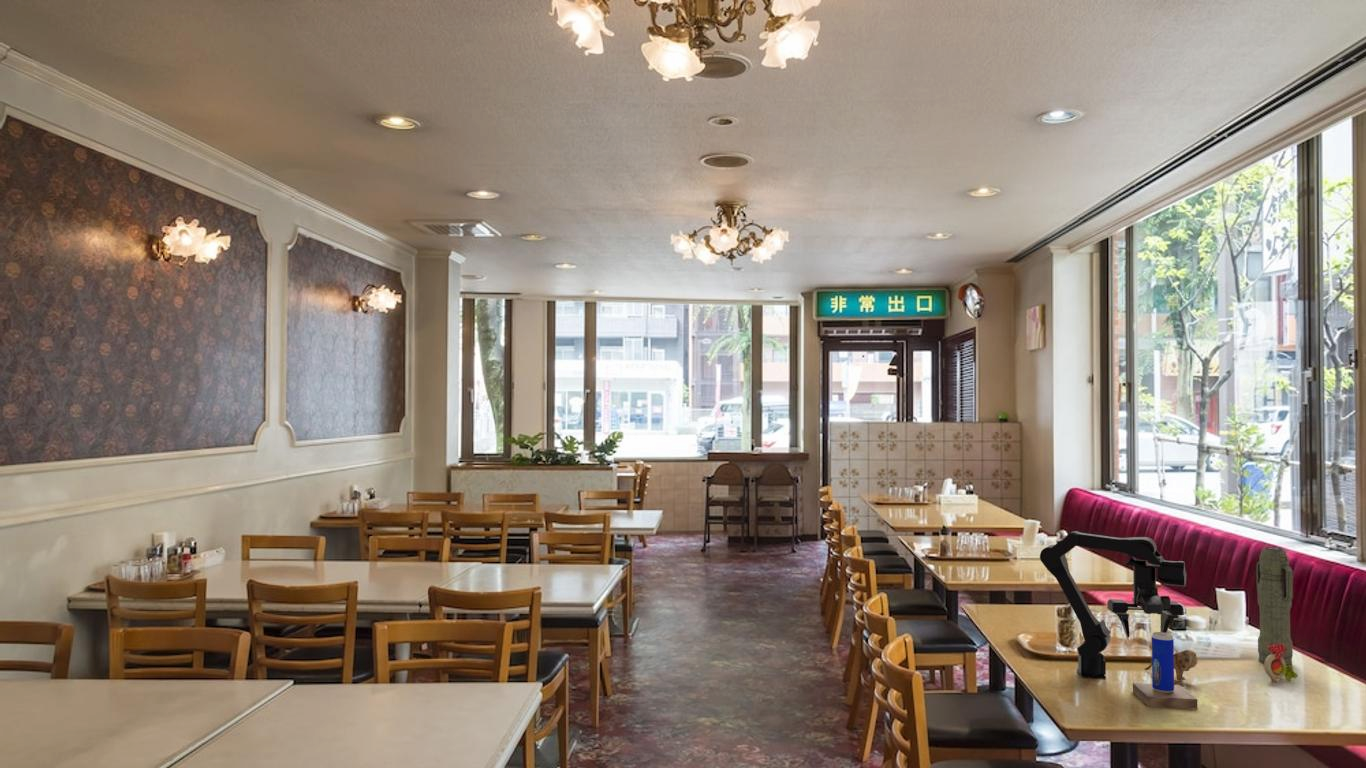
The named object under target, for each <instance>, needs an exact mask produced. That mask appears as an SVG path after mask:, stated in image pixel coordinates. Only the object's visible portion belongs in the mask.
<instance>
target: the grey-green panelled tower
mask: <svg viewBox="0 0 1366 768" xmlns="http://www.w3.org/2000/svg"><path fill="white" fill-rule="evenodd" d="M1289 565H1290V559H1289V556H1288V553H1287V551H1286V550H1285V549H1283V548H1281V547H1275V546H1266V547H1263V548H1262V549H1261V552H1260V555H1259V560H1258V561H1257V562H1256V564H1255V575H1256V576H1255V580H1256V581H1255V582H1256V583H1255V585H1256V593H1257V604H1258V606H1259V635H1258V639H1257V652H1258V662H1260V663H1262V664H1264V663H1265V660H1266V658H1267V656H1268V655H1270V654H1271V653H1272V652H1271V651H1270V650H1269V649H1268V647H1267V646H1268V645H1270V646H1271V645H1273V644H1275V645H1277V644H1281V643H1283V644H1284V648H1287V651H1286V652H1285V653H1283V654H1281V656H1282V658H1283V659H1284V661H1285V663H1286V666H1289V665H1291V666H1293V655H1294V654H1293V652H1294V651H1293V648H1294V647H1293V641H1292V638H1291V608H1292V606H1293V605H1292V604H1293V603H1292V600H1293V599H1294V589H1293V588H1294V571H1293V569H1292V567H1291V566H1289ZM1273 661H1275V660H1273ZM1277 662H1278V661H1277Z"/></svg>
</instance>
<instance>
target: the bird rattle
mask: <svg viewBox="0 0 1366 768" xmlns="http://www.w3.org/2000/svg"><path fill="white" fill-rule="evenodd" d="M1267 647H1268V649H1269V650H1270V651H1271V652H1272V653H1271V654H1270V655H1268V656H1267V658H1266V660H1265V663H1263V667H1264V670H1265V674H1266V675H1267V676H1268V678H1270V681H1271V682H1272V683H1276V682H1278V681H1279V680H1282V679H1283V678H1284V679H1285V680H1286V681H1288V682H1291V681H1292V679H1297V678H1298V677H1299V675H1298V674H1297V672H1296V671H1294V667H1293V665H1289V666H1286V663H1285V661H1284V659H1283V658H1282V656H1281V654H1283V653H1285V652H1286V651H1287V648H1284V644H1283V643H1281V644H1277V645H1275V644H1273V645H1271V646H1270V645H1268V646H1267ZM1273 660H1275V661H1273ZM1277 661H1278V662H1277Z"/></svg>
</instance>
